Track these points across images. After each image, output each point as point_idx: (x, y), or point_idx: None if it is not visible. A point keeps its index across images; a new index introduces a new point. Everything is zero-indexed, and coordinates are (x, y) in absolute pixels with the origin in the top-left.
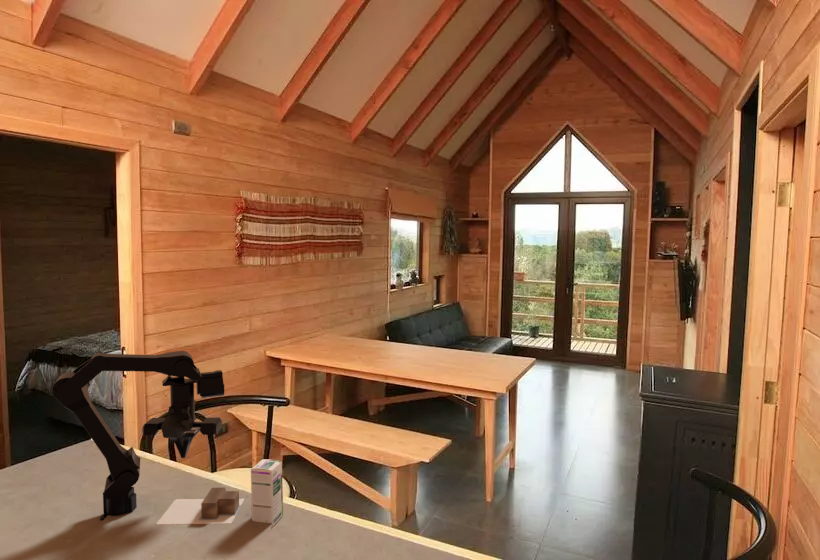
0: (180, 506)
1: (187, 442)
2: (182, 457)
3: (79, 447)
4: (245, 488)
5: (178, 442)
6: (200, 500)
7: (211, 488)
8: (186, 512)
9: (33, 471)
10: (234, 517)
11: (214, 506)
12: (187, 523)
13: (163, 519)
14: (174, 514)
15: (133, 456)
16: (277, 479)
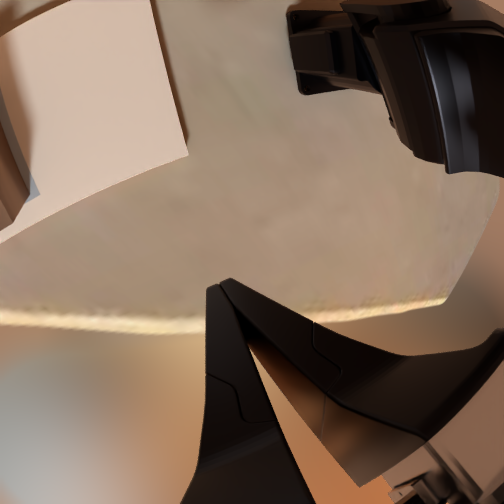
0: (128, 114)
1: (216, 428)
2: (222, 282)
3: (457, 275)
4: (37, 322)
5: (326, 374)
6: (83, 186)
7: (8, 216)
8: (71, 85)
9: (486, 197)
10: None
11: None
12: (19, 26)
13: (134, 10)
14: (111, 53)
15: (500, 87)
16: None
